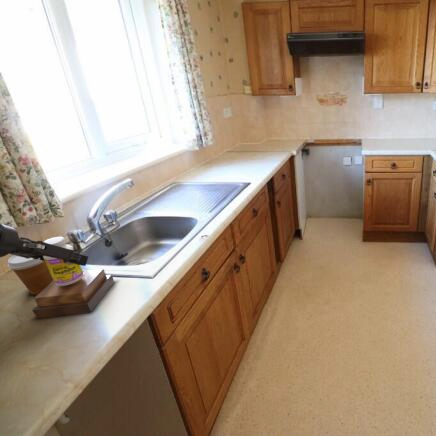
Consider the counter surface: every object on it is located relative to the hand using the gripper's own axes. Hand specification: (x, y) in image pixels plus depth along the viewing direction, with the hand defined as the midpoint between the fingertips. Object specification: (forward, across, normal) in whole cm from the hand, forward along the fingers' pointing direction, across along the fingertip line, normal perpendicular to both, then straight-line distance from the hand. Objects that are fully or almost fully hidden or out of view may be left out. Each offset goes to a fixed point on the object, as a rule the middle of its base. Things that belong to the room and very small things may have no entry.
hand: (74, 260), depth 93 cm
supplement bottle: (+1, 0, +6) cm, 6 cm away
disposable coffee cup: (+8, +16, +8) cm, 20 cm away
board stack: (+5, 0, +10) cm, 12 cm away
